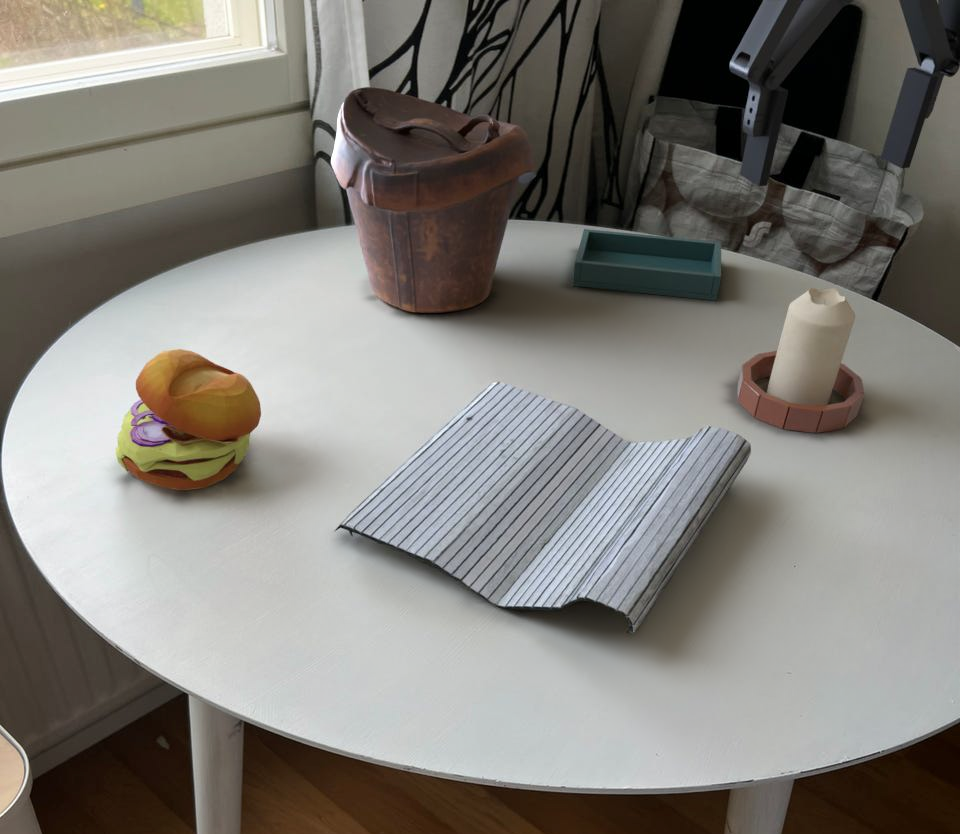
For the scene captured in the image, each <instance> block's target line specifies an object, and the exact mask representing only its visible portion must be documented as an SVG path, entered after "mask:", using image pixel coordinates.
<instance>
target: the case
mask: <svg viewBox="0 0 960 834" xmlns="http://www.w3.org/2000/svg"><path fill="white" fill-rule="evenodd" d="M533 158H534V157H533V152H532V146H531V142H530V138H529V136H528V134H527V132H526V131H525V130H524V129H523V128H522V127H521V126H520V125H518V124H513V123H509V122H506V121H501V120H497V119H496V118H493V117H492V116H491V115H488V114H486V113H485V114H480V115H478V116H475V115H471V114H466V113H463V112H461V111H459V110H455V109H453V108H450V107H447V106H446V105H445V106H444V105H442V104H439V103H436V102H432V101H429V100H426V99H422V98H419V97H416V96H413V95H409V94H404V93H401V92H397V91H394V90H391V89H387V88H382V87H381V88H380V87H373V86H365V87H359V88H356V89H353V90H351V91H350V92H349V93H348V94H347V95H346V96H345V98H344V100H343V102H342V104H341V106H340V108H339V111H338V115H337V121H336V133H335V140H334V145H333V151H332V154H331V158H330V165H331V168H332V169H333V173H334V174H335V177H336V179H337V180H338V183H339V186H340V187H341V188H343V190H346V195H347V197H348V198H347V199H348V203H349V207H350V210H351V214H352V217H353V221H354V225H355V230H356V233H357V236H358V241H359V246H360V249H361V253H362V256H363V260H364V263H365V264H364V265H365V267H366V271H367V275H368V279H369V284H370V287H371V290H372V291H373V293H374V295H376V296H377V297H378V298H379V299H380V300H381V301H383V302H384V303H387V304H389V305H391V306H393V307H396V308H397V309H400V310H402V311H406V312H411V313H422V314H423V313H424V314H439V313H449V312H450V313H451V312H456V311H462V310H466V309H470V308H474V307H475V306H477V305H479V304H482V303H483V302H484V301H485V300H486V299H487V298H488V297H489V295H490V294H491V290H492V285H493V279H494V275H495V272H496V268H497V263H498V260H499V256H500V252H501V249H502V244H503V241H504V237H505V234H506V230H507V227H508V222H509V219H510V218H509V217H510V214H511V210H512V206H513V202H514V198H515V194H516V190H517V186H518V183H519V184H520V185H524V184H527V183H528V182H531V181H532V180H533V179H535V177H537V171H536V169H535V162H534V159H533Z"/></svg>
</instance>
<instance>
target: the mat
mask: <svg viewBox="0 0 960 834" xmlns="http://www.w3.org/2000/svg"><path fill="white" fill-rule="evenodd" d="M751 454H752V445H751V442H749V441H748V440H747V439H746V438H744V437H743V436H742V435H741V434H738V433H735V432H732V431H729V430H727V429H723V428H720V427H715V426H710V425H707V426H705V427H702V428H699V430H697V432H695V433H694V434H693V435H691V436H688V437H686V438H680V439H678V438H677V439H668V440H664V441H642V442H641V441H640V442H635V441H628V440H625V439H624V438H622V437H621V436H619V435H618V434H616V433H615V432H613V431H612V430H610V429H608V428H607V427H606V426H604V425H602V424H601V423H600V422H598V421H597V420H595V419H594V418H593V417H591V416H590V415H588V414H586V413H585V412H583V411H582V410H580V409H579V408H577V407H575V406H571V405H568V404H565V403H562V402H560V401H556V400H553V399H550V398H547V397H545V396H543V395H539V394H537V393H534V392H531V391H528V390H525V389H522V388H519V387H516V386H514V385H512V384H511V385H510V384H508V383H505V382H501V381H495V382H492V383H489V384H488V385H487V386H486V387H484V389H483V390H482V391H481V392H480V393H478V394H477V395H476V396H475V397H474V398H473V399H472V400H471V401H470V402H469V403H468V404H467V405H465V407H463V409H461V410H459V412H458V413H457V414H456V415H454V416H453V417H452V419H450V420H449V421H448V422H447V423H446V424H445V425H444V426H442V428H440V429H439V430H438V431H437V432H436V433H435V434H434V435H433V436H432V437H431V438H430V439H428V440H427V441H426V442H425V443H424V444H423V445H422V446H421V447H419V449H417V450H416V451H415V452H414V454H412V455H411V456H410V457H409V458H408V459H407V460H406V461H404V463H402V464H401V465H400V466H399V467H398V468H397V469H396V470H395V471H394V472H393V473H392V474H391V475H390V476H388V477H387V478H386V479H385V480H384V481H383V482H382V483H381V484H379V486H377V487H376V488H375V489H374V490H373V491H372V492H371V493H369V495H368V496H367V497H366V498H365V499H364V500H362V501H361V502H360V503H359V504H358V505H357V506H356V507H355V508H354V509H353V510H352V511H350V513H349V514H348V515H347V516H346V517H345V518H344V520H343V521H342V522H341V523H340V524H338V526H337V528H336V529H335V530H334V531H333V533H335V532H336V531H338V530H339V529H343V530H344V531H345V530H346V531H348V532H349V534H350V536H351V537H352V538H354V536H353V535H354V534H356V535H359V536H362V537H364V538H366V539H368V540H371V541H373V542H376V543H378V544H380V545H385V546H387V547H389V548H391V549H394V550H396V551H399V552H401V553H404V554H405V555H409V556H410V557H413V558H415V559H417V560H419V561H422V562H424V563H426V564H428V565H431V566H433V567H435V568H436V569H439V570H440V571H441V572H443V573H445V574H446V575H448V576H450V577H451V578H453V579H455V580H456V581H458V582H459V583H461V585H463V586H465V587H466V588H468V589H469V590H470V591H472V592H473V593H475V594H477V595H478V596H479V597H481V598H482V599H484V600H486V601H487V602H489V603H491V604H492V605H494V606H496V607H497V608H503V609H510V610H539V611H558V610H561V609H563V608H566V607H568V606H572V604H576V603H578V602H581V601H585V602H592V603H599V604H601V605H603V606H605V607H606V608H609V609H611V610H613V611H615V612H617V613H620V614H621V615H622V616H624V617H625V618H626V619H627V620H628V621H629V625H628V627H627V629H626V633H627V634H629V633H631V634H634V633H635V632H636V630H637V629H638V628H639V626H641V624H642V623H643V621H644V620H645V619H646V617H647V616H648V614H649V613H650V612H651V610H652V609H653V606H654V605H655V603H656V601H657V600H658V598H659V596H660V595H661V593H662V591H663V590H664V589H665V588H666V586H667V585H668V583H669V582H670V581H671V579H672V577H673V575H674V574H675V572H676V571H677V570H678V567H679V566H680V564H681V562H682V561H683V560H684V558H685V556H686V555H687V553H688V551H689V550H690V549H691V547H692V545H693V543H694V542H695V541H696V539H697V538H698V536H699V535H700V533H701V531H702V530H703V529H704V527H705V526H706V524H707V523H708V521H709V520H710V518H711V516H712V515H713V513H714V512H715V511H716V509H717V508H718V506H719V504H720V503H721V502H722V500H723V498H724V497H725V496H726V494H727V493H728V491H729V489H730V488H731V486H732V485H733V483H734V482H735V481H736V479H737V478H738V476H739V474H740V473H741V472H742V470H743V469H744V467H745V466H746V464H747V462H748V460H749V458H750V456H751ZM353 533H354V534H353Z"/></svg>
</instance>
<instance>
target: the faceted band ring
mask: <svg viewBox="0 0 960 834" xmlns="http://www.w3.org/2000/svg"><path fill="white" fill-rule="evenodd" d="M776 354H777V350H773V351H768V352H760V353H758V354H755V355H754V356H753V357H751V358H750V359H748V360H747V361H746V362H745V363H743V364H742V366H741V369H740V374H739V378H738V382H737V386H736V388H737V402H738V404H739V405H741V406H742V408H743V409H745V410H746V411H747V413H749V414H750V415H751V416H752V417H753V418H754V419H757V420H759V421H762V422H764V423H766V424H769V425H771V426H774V427H776V428H779V429H781V430H785V431H796V432H802V433H812V434H815V433H816V434H819V433H824V432H829V431H835V430H840V429H843V428H845V427H847V425H848V424H850V423H851V422H852V421H853V420H854V419H855V418H857V417H858V414H859V411H860V408H861V405H862V403H863V400H864V396H865V393H866V392H865V387H864V384H863V379H862V378H861V376H859V375H858V374H857V373H856V372H854V371H853V370H852V369H851V368H849V367H848V366H847V365H846V364H845V363H842V362H841V364H840V368H839V371H838V374H837V377H836V380H835V383H834V387H833V390H834V391H835V392H836V393H837V394H839V396H841V397H842V398H843V399H844V401H842V402H836V403H831V404H828V405H825V406H812V405H803V404H794V403H790V402H787V401H785V400H782V399H780V398H777V397H775V396H772V395H769V394H767V392H765V391H764V390H763V389H762V388H761V387H760V386H759V385H757V384H756V383H755V382H756V381H758V379H764V378H770V377H771V373H772V369H773V365H774V361H775V358H776Z"/></svg>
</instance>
